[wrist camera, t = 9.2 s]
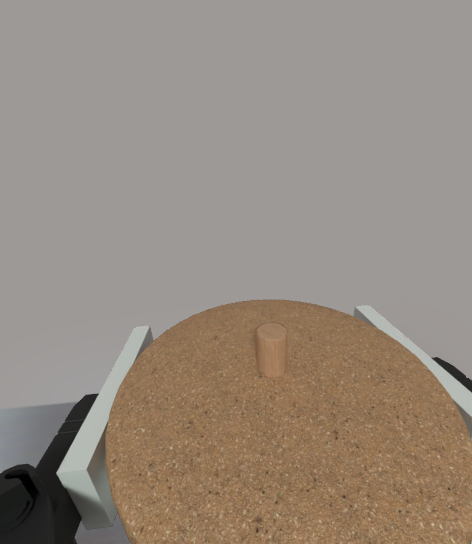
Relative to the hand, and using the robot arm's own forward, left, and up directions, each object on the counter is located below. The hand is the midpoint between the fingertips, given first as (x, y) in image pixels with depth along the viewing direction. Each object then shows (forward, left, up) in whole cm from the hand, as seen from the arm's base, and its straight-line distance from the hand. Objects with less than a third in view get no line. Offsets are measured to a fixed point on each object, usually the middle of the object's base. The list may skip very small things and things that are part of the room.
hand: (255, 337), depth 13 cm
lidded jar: (+2, -4, -6) cm, 7 cm away
